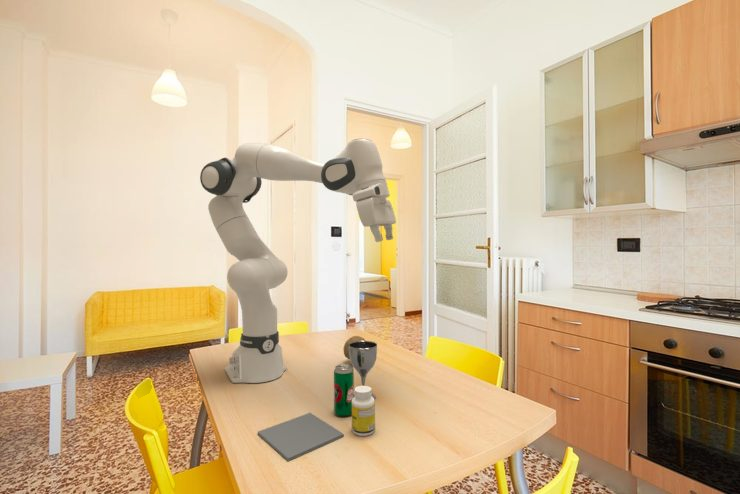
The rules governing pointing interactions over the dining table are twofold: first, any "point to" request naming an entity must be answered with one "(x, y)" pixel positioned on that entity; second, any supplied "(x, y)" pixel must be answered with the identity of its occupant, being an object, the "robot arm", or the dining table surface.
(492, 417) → the dining table surface
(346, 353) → the natural sponge
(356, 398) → the supplement bottle
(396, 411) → the dining table surface
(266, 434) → the mat
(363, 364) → the wine glass
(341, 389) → the soda can
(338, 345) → the dining table surface
